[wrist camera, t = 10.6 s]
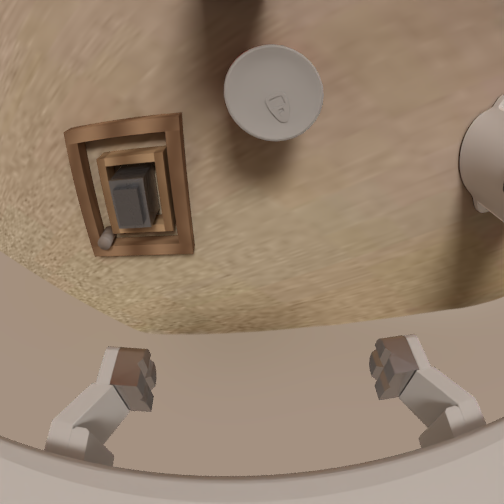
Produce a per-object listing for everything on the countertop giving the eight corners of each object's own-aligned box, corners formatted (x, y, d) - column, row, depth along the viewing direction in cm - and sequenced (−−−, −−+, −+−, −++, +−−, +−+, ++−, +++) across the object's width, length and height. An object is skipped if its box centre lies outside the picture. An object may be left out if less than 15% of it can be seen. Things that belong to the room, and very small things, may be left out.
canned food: (259, 128, 34) (268, 160, 25) (211, 76, 31) (200, 87, 22) (313, 88, 32) (344, 105, 23) (267, 33, 28) (280, 25, 19)
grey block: (153, 162, 36) (140, 180, 31) (159, 206, 39) (149, 230, 35) (122, 165, 36) (105, 184, 31) (130, 208, 39) (117, 232, 35)
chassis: (181, 112, 33) (176, 117, 30) (194, 244, 43) (192, 258, 40) (71, 127, 32) (59, 134, 30) (99, 248, 42) (92, 260, 40)
